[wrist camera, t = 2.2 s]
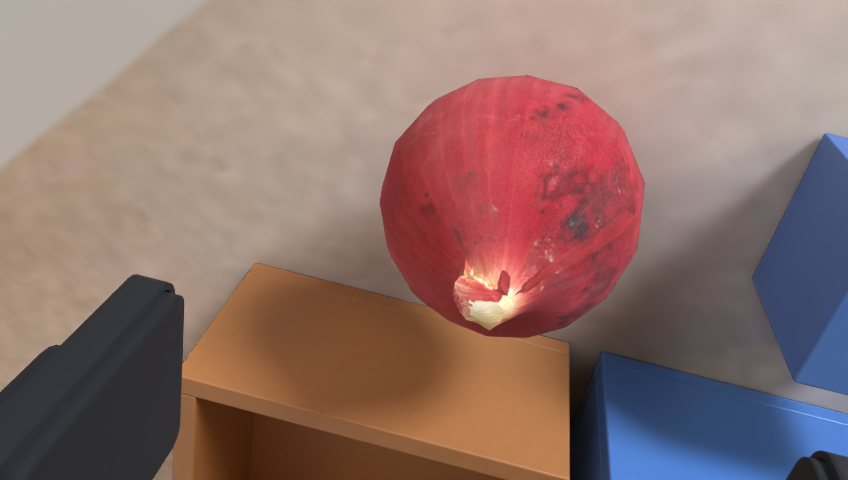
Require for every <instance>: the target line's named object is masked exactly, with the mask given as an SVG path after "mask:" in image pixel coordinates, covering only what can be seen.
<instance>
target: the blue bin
mask: <svg viewBox="0 0 848 480" xmlns="http://www.w3.org/2000/svg"><path fill="white" fill-rule="evenodd" d="M816 451H827V452H830V453H834V454H838V455H842V456H846V457H848V414H845V413H841V412H837V411H833V410H829V409H826V408H822V407H818V406H814V405H810V404H806V403H802V402H798V401H794V400H790V399H786V398H782V397H779V396H775V395H771V394H767V393H763V392H759V391H755V390H751V389H747V388H743V387H739V386H735V385H732V384H728V383H724V382H720V381H716V380H712V379H708V378H704V377H700V376H696V375H692V374H689V373H685V372H681V371H677V370H673V369H669V368H665V367H661V366H657V365H653V364H649V363H645V362H642V361H638V360H634V359H630V358H626V357H622V356H618V355H614V354H610V353H606V352H602V353H601V355H600V357H599V360H598V362H597V365H596V367H595V370H594V372H593V375H592V377H591V380H590V382H589V385H588V387H587V390H586V392H585V395H584V397H583V400H582V402H581V405H580V407H579V410H578V412H577V415H576V417H575V420H574V422H573V425H572V427H571V430H570V480H786V478H787V477H788V475H789V474H790V472H791V470H792V469H793V467H794V465H795V464H796V462H797V461H798V460H799V459H800V458H802V457H809V458H810V456H811V455H812V454H813V453H815V452H816Z"/></svg>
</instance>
